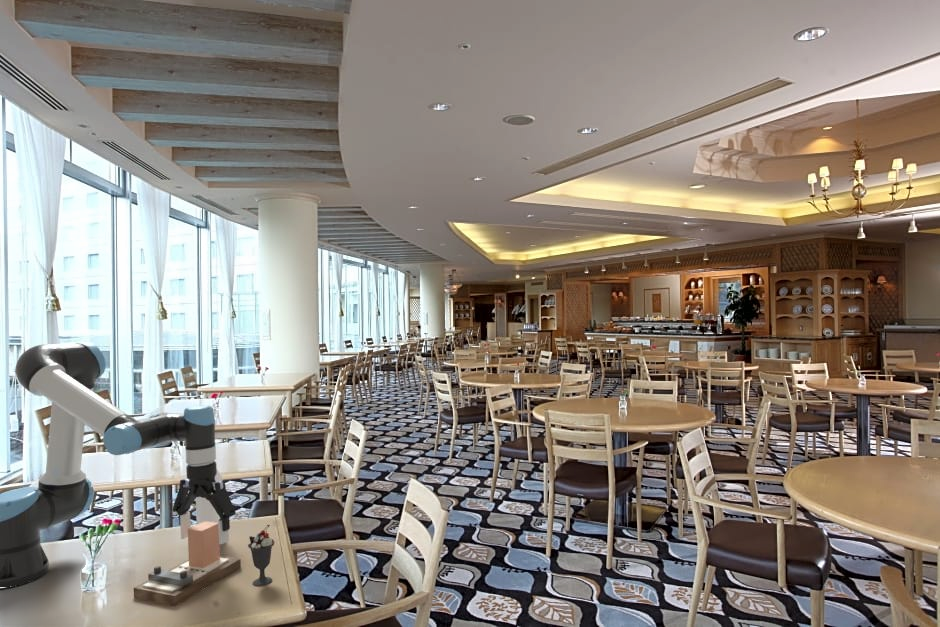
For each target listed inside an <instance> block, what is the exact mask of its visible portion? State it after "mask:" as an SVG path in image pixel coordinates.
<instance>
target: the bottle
mask: <svg viewBox="0 0 940 627" xmlns="http://www.w3.org/2000/svg"><path fill="white" fill-rule="evenodd" d="M214 461H215V462H216V459H215V460H214ZM222 480H223V476H222V474H221V472H220V470H219V469H217V474H216V475H215V481H216V482H220V481H222ZM212 494H213V493H212ZM195 510H196V511H195V512H196V513H195V515H196V518H195V519H196V525H198V524H200V523H202V522H205V521H207V522H214V523H218V520H219V519H220V517H219V515H218V514H217V512H216V511H215V509H214V508H213V506H212V505H211V503H210V501H209V500H206V498H202V497H196V499H195ZM223 514H224V513H223Z"/></svg>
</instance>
